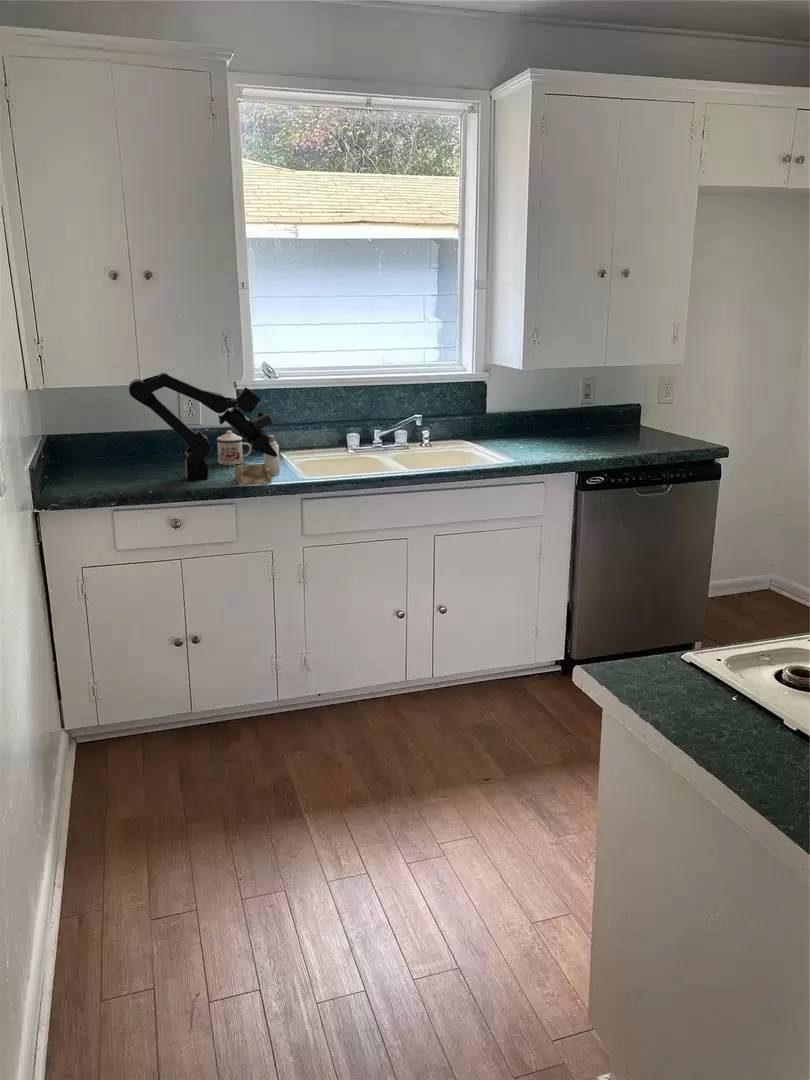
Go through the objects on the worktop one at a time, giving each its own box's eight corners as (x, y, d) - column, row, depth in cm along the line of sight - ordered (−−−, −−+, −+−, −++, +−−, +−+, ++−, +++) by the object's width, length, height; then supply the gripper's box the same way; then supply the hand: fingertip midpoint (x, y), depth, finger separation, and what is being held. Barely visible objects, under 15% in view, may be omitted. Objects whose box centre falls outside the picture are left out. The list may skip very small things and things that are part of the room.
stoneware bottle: (265, 475, 280) (264, 437, 276) (262, 472, 285) (261, 435, 281) (281, 474, 282) (279, 436, 278) (277, 471, 287) (276, 434, 283)
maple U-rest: (240, 485, 267) (239, 472, 266) (235, 478, 276) (234, 465, 275) (271, 482, 271) (270, 470, 270) (265, 476, 280) (264, 463, 278)
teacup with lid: (217, 466, 294) (215, 433, 290) (218, 460, 303) (216, 428, 299) (251, 465, 296) (250, 432, 293) (251, 459, 305) (250, 428, 301)
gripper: (261, 409, 267) (296, 442, 273) (253, 401, 284) (286, 432, 290) (237, 435, 267) (273, 466, 274) (231, 425, 284) (265, 455, 291)
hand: (275, 454), depth 282 cm, fingers closed on stoneware bottle, 5 cm apart
